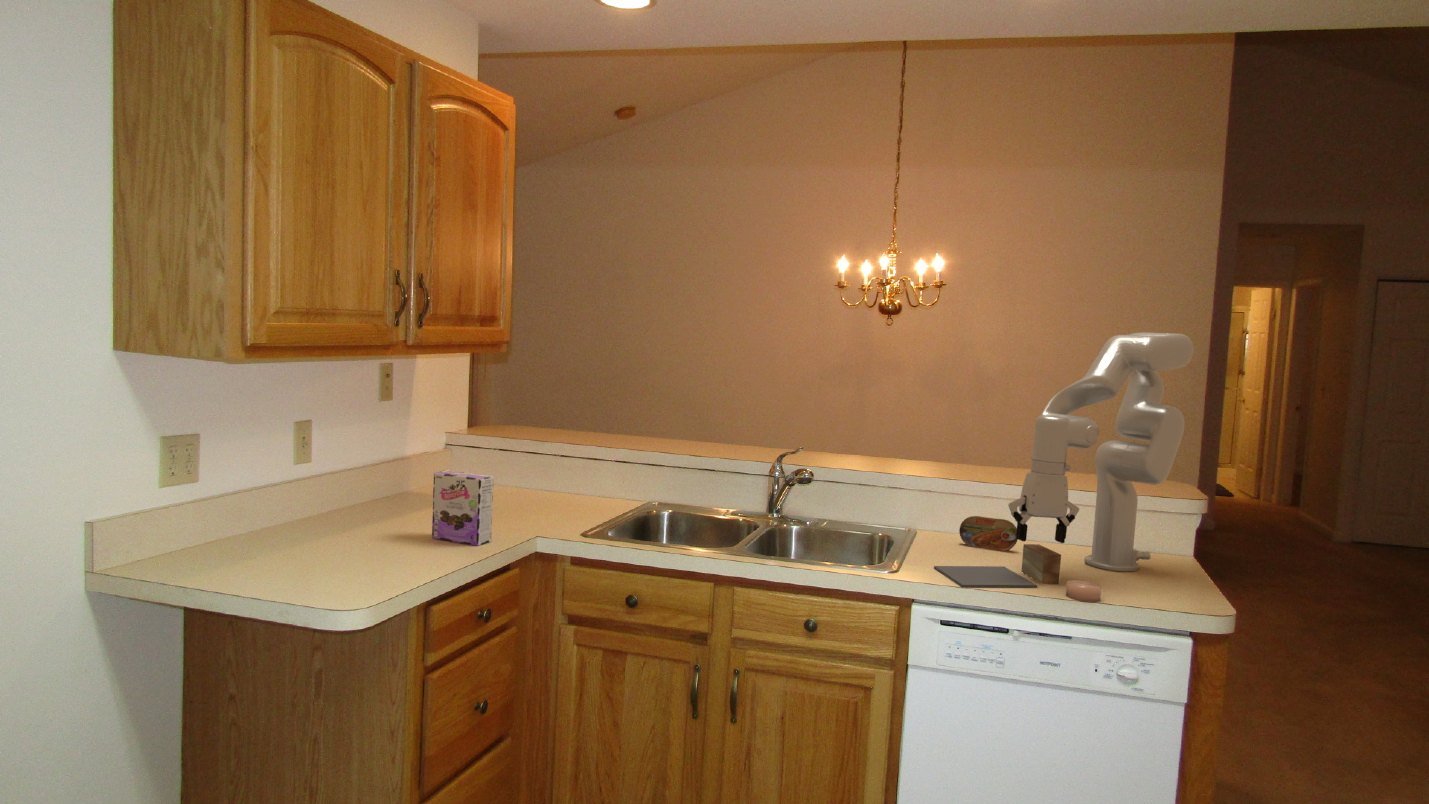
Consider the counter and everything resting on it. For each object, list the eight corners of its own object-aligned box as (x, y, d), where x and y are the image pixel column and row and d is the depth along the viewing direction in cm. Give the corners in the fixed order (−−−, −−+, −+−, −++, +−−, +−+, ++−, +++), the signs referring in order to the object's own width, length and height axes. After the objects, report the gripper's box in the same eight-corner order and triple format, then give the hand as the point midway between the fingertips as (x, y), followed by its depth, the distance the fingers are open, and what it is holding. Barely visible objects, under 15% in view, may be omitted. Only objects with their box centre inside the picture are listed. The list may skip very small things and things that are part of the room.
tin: (957, 545, 248) (960, 514, 248) (960, 543, 251) (962, 512, 251) (1015, 554, 242) (1018, 522, 241) (1018, 551, 244) (1020, 520, 244)
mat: (1003, 568, 225) (1004, 566, 225) (1037, 587, 209) (1037, 585, 209) (933, 568, 222) (933, 565, 222) (962, 587, 206) (962, 584, 206)
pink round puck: (1088, 593, 207) (1089, 580, 207) (1106, 602, 200) (1107, 589, 200) (1059, 593, 206) (1060, 579, 206) (1076, 602, 199) (1077, 588, 199)
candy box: (430, 538, 225) (432, 472, 224) (446, 534, 231) (448, 468, 230) (477, 546, 220) (479, 478, 219) (492, 541, 226) (494, 474, 224)
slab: (1036, 573, 223) (1039, 544, 222) (1058, 584, 213) (1061, 554, 213) (1020, 572, 222) (1023, 544, 222) (1042, 584, 212) (1044, 554, 212)
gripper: (1073, 468, 221) (1065, 539, 222) (1005, 464, 218) (998, 536, 219) (1091, 473, 213) (1083, 546, 214) (1021, 468, 210) (1013, 543, 211)
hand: (1040, 541), depth 216 cm, fingers open, 9 cm apart
